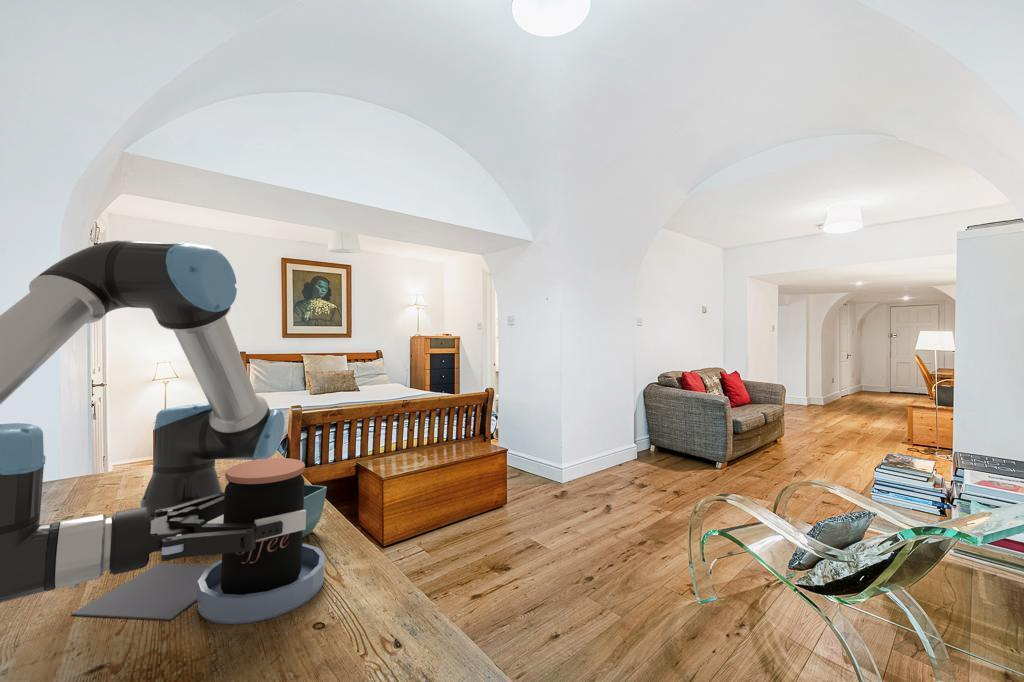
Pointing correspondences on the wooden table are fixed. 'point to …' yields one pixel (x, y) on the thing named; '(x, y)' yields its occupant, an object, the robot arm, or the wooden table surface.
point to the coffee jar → (256, 497)
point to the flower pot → (313, 505)
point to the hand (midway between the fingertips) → (291, 506)
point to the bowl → (260, 593)
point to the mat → (150, 594)
